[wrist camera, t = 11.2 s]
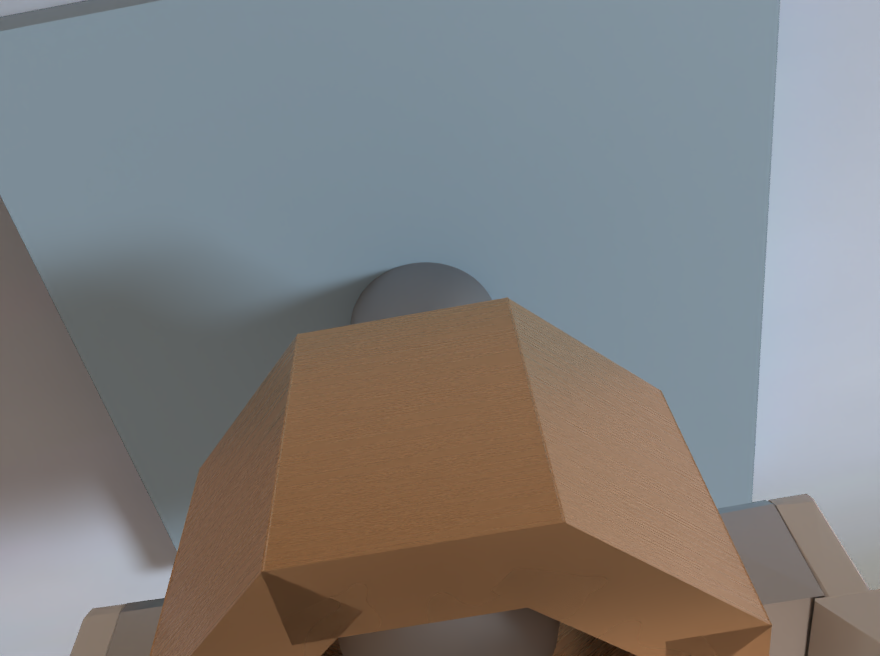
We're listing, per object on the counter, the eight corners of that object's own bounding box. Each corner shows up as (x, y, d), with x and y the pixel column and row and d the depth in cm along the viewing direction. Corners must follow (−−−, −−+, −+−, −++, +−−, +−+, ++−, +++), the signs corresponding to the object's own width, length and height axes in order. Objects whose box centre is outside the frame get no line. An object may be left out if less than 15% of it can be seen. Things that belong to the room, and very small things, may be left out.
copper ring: (150, 358, 11) (51, 605, 8) (658, 270, 11) (784, 486, 7) (285, 665, 15) (258, 922, 11) (666, 605, 15) (753, 849, 11)
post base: (-36, 23, 15) (-586, 326, 6) (750, -128, 14) (1287, -15, 6) (211, 555, 22) (110, 1013, 14) (730, 470, 22) (948, 893, 13)
